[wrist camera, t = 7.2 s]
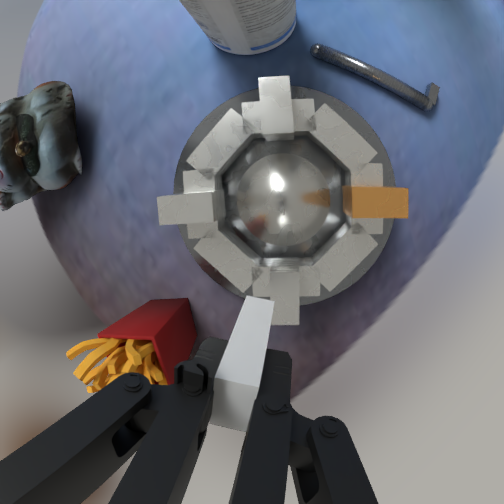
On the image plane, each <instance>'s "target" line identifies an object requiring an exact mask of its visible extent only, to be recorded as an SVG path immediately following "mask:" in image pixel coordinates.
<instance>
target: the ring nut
mask: <svg viewBox="0 0 504 504" xmlns="http://www.w3.org/2000/svg"><path fill="white" fill-rule="evenodd" d="M258 82H259V96H260V101H254V102H244V103H241V104H242V116H241V115H240V114H238V113H237V112H236V111H235V110H233V109H232V108H231V109H230V110H229V111H228V112H227V113H226V114H225V115H224V116H223V117H222V119H221V120H220V121H219V122H218V123H217V124H216V125H215V127H214V128H213V129H212V130H211V131H210V132H209V134H208V135H207V136H206V137H205V138H204V139H203V141H202V142H201V143H200V144H199V145H198V147H197V148H196V149H195V150H194V152H193V153H192V154H191V155H190V156H189V158H188V159H187V160H186V161H187V162H188V163H189V164H190V165H191V166H192V167H194V168H195V169H196V170H190V171H183V184H184V193H178V194H171V195H165V196H160V197H157V204H158V214H159V224H160V225H171V224H187V230H188V239H194V238H201V240H200V241H199V242H198V243H197V244H196V246H195V247H194V248H193V249H195V250H196V251H197V252H198V253H199V254H200V255H201V256H202V257H203V258H204V259H206V260H207V261H208V262H209V263H210V264H211V265H212V266H213V267H214V268H216V269H217V270H218V271H219V272H220V273H221V274H222V275H223V276H224V277H226V278H227V279H228V280H229V281H230V282H231V283H232V284H233V285H235V286H236V287H237V288H238V289H239V290H240V291H241V292H243V293H244V292H245V291H246V290H247V289H248V288H249V287H250V286H251V285H252V286H253V297H270V300H271V301H275V302H274V308H273V314H272V320H271V325H299V296H320V283H321V284H322V285H323V286H324V287H325V288H326V289H328V290H329V291H331V290H332V289H334V288H335V287H336V286H337V285H338V284H339V283H340V282H341V281H342V280H343V279H344V278H345V277H346V276H347V275H348V274H349V273H350V272H351V271H352V270H353V269H354V268H355V267H356V266H357V265H358V264H359V263H360V262H361V261H362V260H363V259H364V258H365V257H366V256H367V255H368V254H369V253H370V252H371V251H372V250H373V249H374V248H375V247H376V246H377V245H378V243H377V242H376V241H375V240H374V239H373V238H372V237H371V236H370V235H369V234H383V218H408V188H402V187H393V186H383V168H382V164H381V163H369V162H370V161H371V160H372V158H373V157H374V156H375V155H376V154H377V152H376V151H375V150H374V149H373V148H372V147H371V146H370V145H369V144H368V143H367V142H366V141H365V140H364V139H363V138H362V137H361V136H360V135H359V134H358V133H357V132H356V131H355V130H354V129H353V128H352V127H351V126H350V125H349V124H348V123H347V122H346V121H345V120H343V119H342V118H341V117H340V116H339V115H338V114H337V113H336V112H335V111H333V110H332V109H331V108H330V107H329V106H328V105H327V104H325V103H324V104H323V105H322V106H321V107H320V108H319V109H318V110H317V111H316V112H315V108H314V99H291V89H290V79H289V76H272V77H259V78H258ZM294 136H308V137H309V138H310V139H311V140H312V141H313V142H314V143H315V144H316V145H318V146H319V147H320V148H321V149H322V150H323V151H324V152H325V153H326V154H327V155H328V156H329V157H331V158H332V159H333V160H334V161H335V162H336V163H337V164H338V165H339V166H340V167H341V168H342V169H343V170H344V171H345V186H343V185H342V188H343V212H344V213H345V214H346V222H345V223H344V224H343V225H342V226H341V227H340V228H339V229H338V230H337V231H336V232H335V233H334V235H333V236H332V237H331V238H330V239H329V240H328V241H327V242H326V243H325V244H324V245H323V246H322V247H321V248H320V249H319V250H318V251H317V252H316V253H315V254H314V255H313V256H312V257H294V258H261V257H260V256H259V255H258V254H257V253H256V252H255V251H254V250H253V249H251V248H250V247H249V246H248V245H247V244H246V243H245V242H244V241H243V240H242V239H240V238H239V237H238V236H237V235H236V234H235V233H234V232H233V231H232V230H230V229H229V228H228V227H227V226H226V225H225V215H226V212H225V197H224V190H223V183H222V175H223V174H224V173H225V172H226V171H227V169H228V168H229V167H230V166H231V165H232V164H233V163H234V161H235V160H236V159H237V158H238V157H239V156H240V155H241V154H242V152H243V151H244V150H245V149H246V148H247V147H248V146H249V145H250V143H251V142H252V141H253V140H254V139H255V138H265V139H266V141H284V140H294Z"/></svg>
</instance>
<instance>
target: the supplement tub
mask: <svg viewBox="0 0 504 504" xmlns="http://www.w3.org/2000/svg"><path fill="white" fill-rule="evenodd" d="M179 1H180V2H181V3H182V5H183V6H184V7H185V8H186V10H187V11H188V12H189V13H190V15H191V16H192V17H193V18H194V20H195V21H196V22H197V24H198V25H199V26H200V28H201V29H202V30H203V32H204V33H205V34H206V36H207V37H208V38H209V40H210V41H211V42H212V43H213V44H214V45H215V46H217V47H218V48H220V49H222V50H223V51H226V52H229V53H233V54H239V55H252V54H258V53H262V52H266V51H269V50H271V49H273V48H275V47H277V46H279V45H281V44H282V43H283V42H285V41H286V40H287V39H288V38H289V36H290V35H291V34H292V32H293V30H294V28H295V25H296V0H179Z"/></svg>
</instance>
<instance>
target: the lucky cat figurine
mask: <svg viewBox="0 0 504 504" xmlns="http://www.w3.org/2000/svg"><path fill="white" fill-rule="evenodd" d="M78 173H80V174H81V175H82V158H81V154H80V150H79V146H78V140H77V131H76V114H75V103H74V98H73V94H72V89H71V88H70V86H69V85H68V84H66V83H64V82H61V81H50V82H46V83H43V84H41V85H39V86H37V87H36V88H35V89H34V90H33V91H32V92H31V93H29V94H28V95H25V96H21V97H18V98H13V99H11V100H8V101H6V102H3V103H0V209H1V210H2V211H4V210H8V209H9V208H11V207H12V206H13V205H15V204H17V203H20V202H23V201H24V200H28V199H30V198H31V197H32V196H34V195H36V194H37V193H40V192H43V191H45V190H57V189H62V188H64V187H66V186H67V185H68V184H69V183H70V182H71V181H72V180H73V179H74V178H75V176H76V175H77V174H78Z"/></svg>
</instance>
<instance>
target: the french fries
mask: <svg viewBox="0 0 504 504" xmlns="http://www.w3.org/2000/svg"><path fill="white" fill-rule="evenodd" d="M98 337H99V339H92V340H88V341H83V342H81V343H79V344H78V345H76V346H74V347H73V348H71V349H70V350H69V351H68V352H67V357H68V358H69V359H70V360H72V359H73V358H75V357H76V356H77V355H78V354H80V353H82V352H84V351H86V350H90V349H94V348H97V349H95V350H94V351H92V352H91V353H89V355H88V356H87V357H86V358H85V359H84V360H83V361H82V362H81V364H80V365H79V366H78V367H77V369H76V370H75V371H74V373H73V374H74V375H75V376H76V377H77V378H78V379H80V380H81V381H83V382H84V384H86V385H88V384H89V383H90V382H91V381H92V380H93V379H94V381H93V383H92V384H93V386H87V391H88V393H94V392H98V391H100V390H101V389H102V388H104V387H105V386H106V385H108V384H109V383H110V382H112V381H113V380H114V379H116V378H117V377H118V376H120V375H122V374H124V373H129V372H134V373H140V374H142V375H144V376H145V377H147V378H148V379H149V381H150V383H151V384H157V385H170V384H174V367H175V366H176V365H177V364H178V363H180V362H182V361H186V360H188V358H189V356H190V353H191V350H192V348H193V345H194V342H195V339H196V337H197V332H196V329H195V325H194V321H193V317H192V313H191V309H190V305H189V301H188V298H178V299H160V300H150V301H149V302H147V303H146V304H144V305H142V306H141V307H139V308H138V309H136V310H134V311H133V312H131V313H130V314H128V315H126V316H125V317H123V318H122V319H120V320H119V321H117V322H115V323H114V324H112V325H111V326H109V327H108V328H106V329H105V330H103V331H101V332H100V333H98ZM106 356H107V359H106V360H105V361H104V362H103V363H102V364H101V365H100V366H98V367H96V368H94V369H93V370H91V369H92V368H93V367H94V366H95V365H96V364H97V363H98V362H99V361H100V360H102V359H103V358H104V357H106ZM90 370H91V371H90ZM89 371H90V372H89ZM108 374H109V375H108ZM107 376H108V377H107Z"/></svg>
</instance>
